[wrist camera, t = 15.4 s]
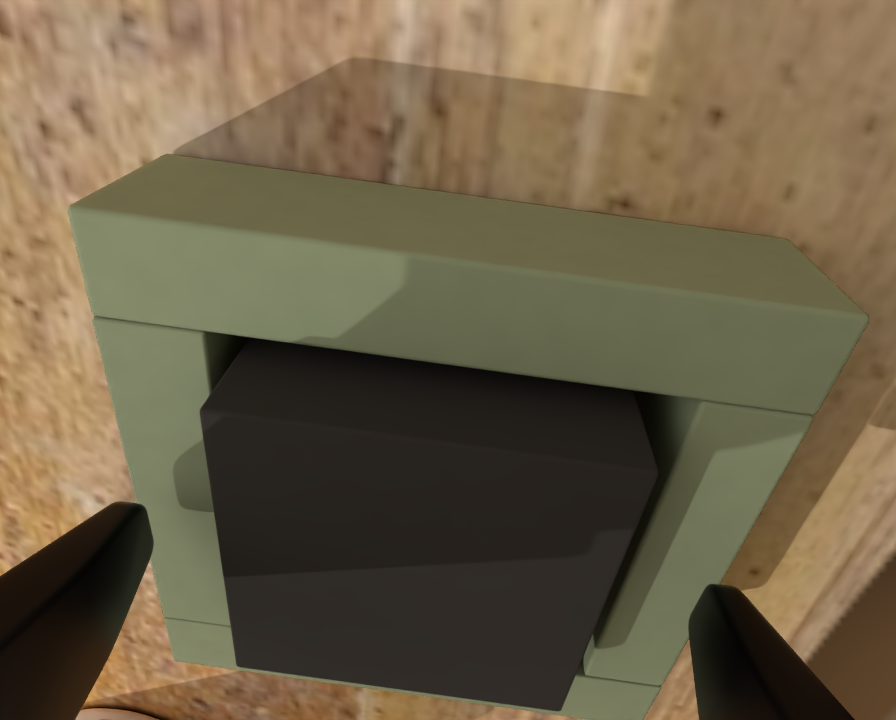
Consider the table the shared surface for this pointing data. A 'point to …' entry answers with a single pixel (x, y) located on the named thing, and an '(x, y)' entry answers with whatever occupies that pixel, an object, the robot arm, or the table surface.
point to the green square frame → (462, 360)
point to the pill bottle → (110, 715)
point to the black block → (419, 519)
